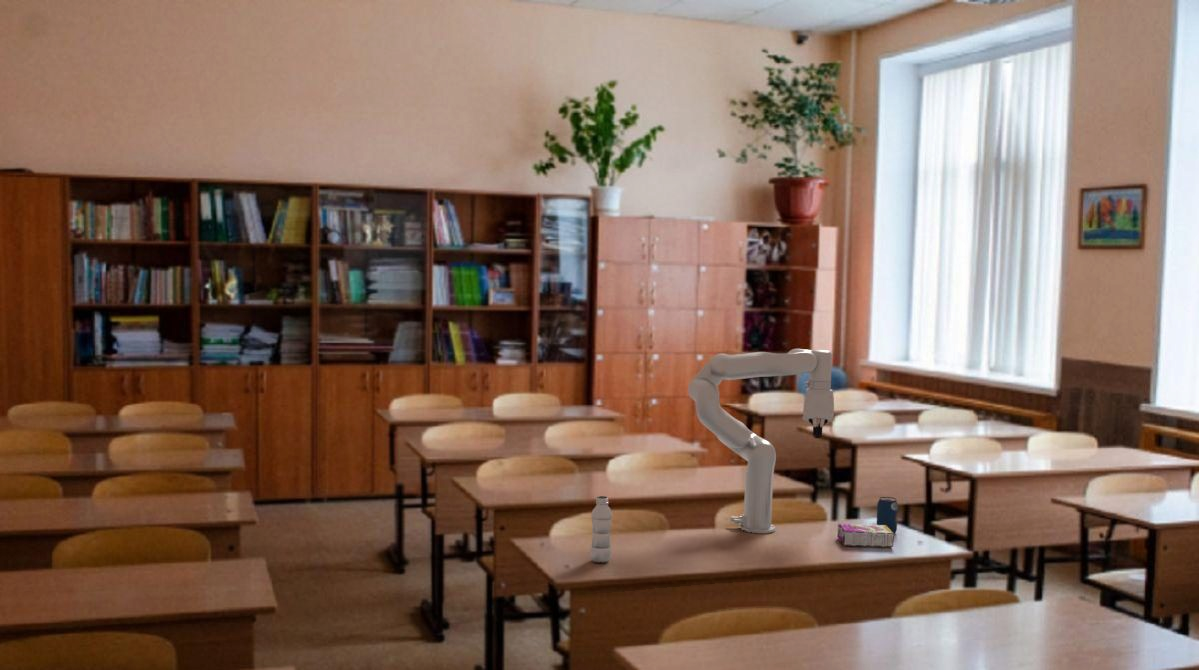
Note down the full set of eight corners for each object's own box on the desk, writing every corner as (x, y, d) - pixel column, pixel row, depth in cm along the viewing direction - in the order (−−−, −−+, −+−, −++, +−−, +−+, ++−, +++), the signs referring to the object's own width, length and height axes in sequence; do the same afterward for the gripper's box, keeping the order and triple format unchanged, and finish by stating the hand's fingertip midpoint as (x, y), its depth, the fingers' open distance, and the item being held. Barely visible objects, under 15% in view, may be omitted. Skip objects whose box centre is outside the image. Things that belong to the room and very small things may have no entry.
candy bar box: (837, 522, 362) (886, 524, 362) (836, 537, 363) (885, 539, 362) (844, 530, 351) (894, 533, 351) (843, 545, 351) (893, 548, 351)
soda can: (900, 534, 369) (902, 500, 369) (882, 535, 368) (884, 501, 367) (889, 529, 376) (891, 496, 375) (872, 530, 374) (874, 496, 373)
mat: (845, 545, 353) (845, 544, 353) (839, 536, 365) (839, 535, 365) (891, 547, 353) (891, 546, 352) (883, 538, 364) (883, 537, 364)
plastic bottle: (585, 562, 326) (587, 498, 324) (596, 557, 332) (598, 493, 330) (604, 566, 323) (606, 501, 321) (614, 560, 329) (616, 496, 327)
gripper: (799, 386, 368) (796, 438, 369) (843, 387, 367) (840, 440, 368) (796, 383, 375) (794, 435, 377) (839, 384, 374) (837, 436, 376)
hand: (817, 437), depth 373 cm, fingers closed
